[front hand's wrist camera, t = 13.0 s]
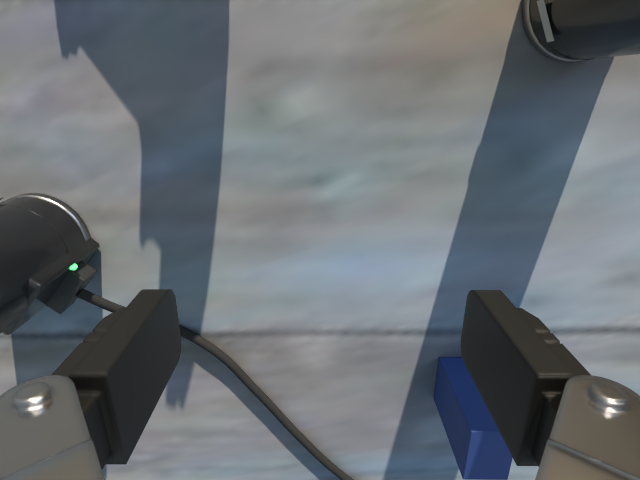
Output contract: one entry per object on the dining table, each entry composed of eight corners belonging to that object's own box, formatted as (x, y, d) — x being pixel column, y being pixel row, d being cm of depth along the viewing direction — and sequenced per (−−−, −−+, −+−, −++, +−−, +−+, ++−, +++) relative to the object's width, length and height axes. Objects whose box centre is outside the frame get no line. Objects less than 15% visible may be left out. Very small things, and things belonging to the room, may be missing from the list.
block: (475, 357, 47) (518, 432, 37) (468, 398, 49) (507, 480, 39) (438, 356, 47) (471, 431, 37) (433, 398, 49) (462, 479, 39)
